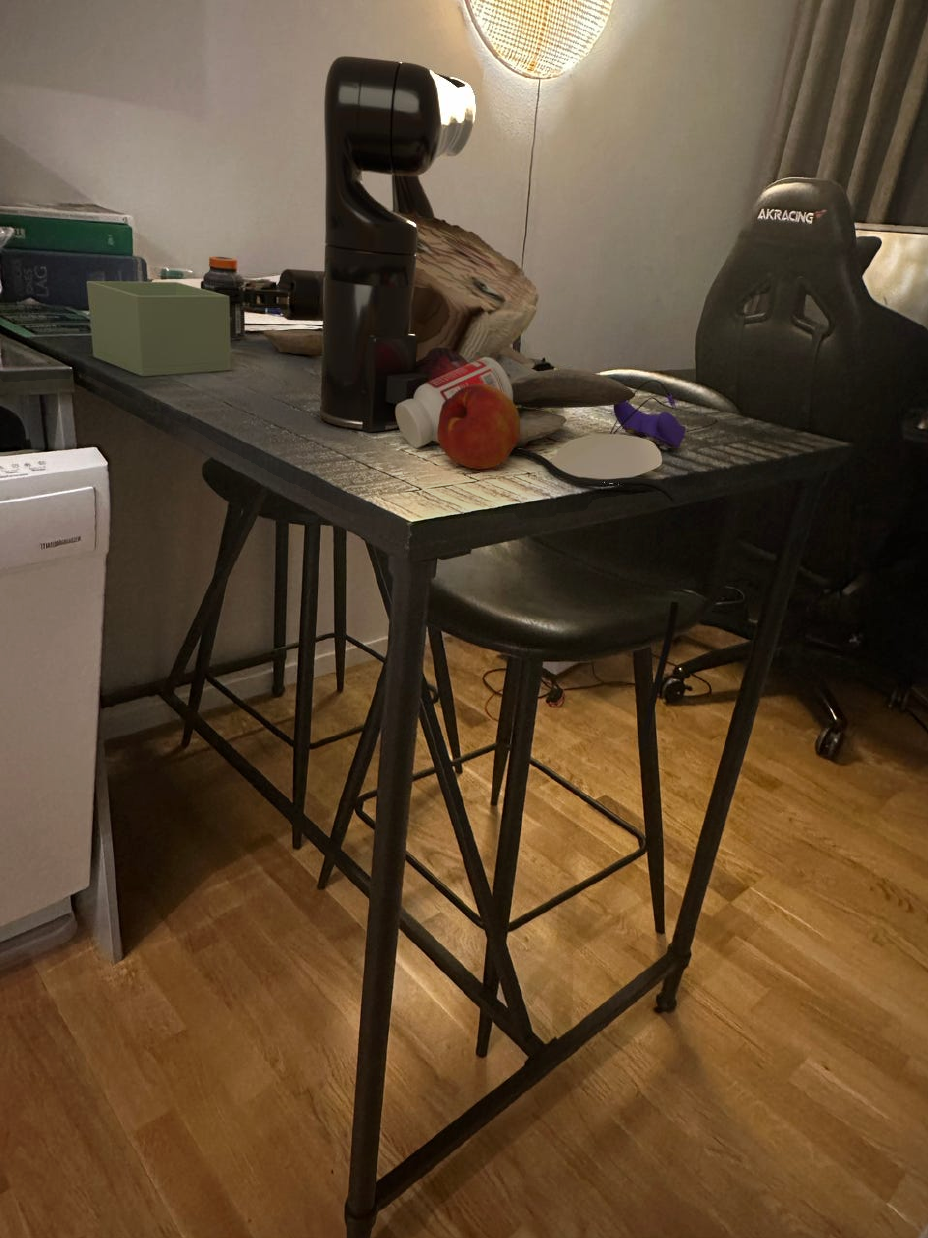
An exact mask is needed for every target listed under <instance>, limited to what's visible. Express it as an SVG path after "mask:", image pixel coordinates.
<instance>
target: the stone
mask: <svg viewBox="0 0 928 1238" xmlns="http://www.w3.org/2000/svg"><path fill="white" fill-rule="evenodd" d="M519 408H520V407H519ZM517 410H518V413H519V418H520V436H519V440H518V442H517V444H516V445H515V447H518V448H522V447H524V446H526V445H527V444H528V443H529V442H530V441H533V440H534V441H535V440H540V439H542V438H546V437H547V436H549V435H551V434H553V433H555V432H557V431H559V430H560V429H561V428H562V427H563V426H564V424H565V423H566V422H567V418H566V417H565V416H563V415H560V414H557V413H554V412H551V411H549V410H531V409H530V408H529V409H528V408H522V407H521V408H520V409H517Z"/></svg>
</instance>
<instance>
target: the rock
mask: <svg viewBox="0 0 928 1238" xmlns="http://www.w3.org/2000/svg"><path fill="white" fill-rule="evenodd" d="M322 333H323V331H321V330H317V331H316V330H310V329H309V330H308V329H292V330H278V329H273V328H271V329H266V330H263V331H262V334H263V336H264V337H265V338H266V339H267V340H268V341H269V342H271V344H273V345H274V347H276V348H277V351H278V352H279V353H286V354H287V353H289V354H293V355H307V356H312V357H322Z"/></svg>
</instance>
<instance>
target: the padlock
mask: <svg viewBox="0 0 928 1238" xmlns="http://www.w3.org/2000/svg"><path fill="white" fill-rule="evenodd" d="M495 361H496V362H497V363H498V364H499V365H500V366H501V367H502V368H503V370H504V371H505V373H506V374H507V376H508V378H509V379H510V378H513V377H517V376H521V375H525V374H529V373H534V372H538V371H535V370H533V369H531V368H529V367H527V366H525V365H523V364H521V363H519V362H517V361H515V360H513V359H510V358H508V357H506V356H504V355H502V354H499V355H498V357H497V359H496V360H495ZM537 409H538V410H540V411H543V409H544V408H537Z"/></svg>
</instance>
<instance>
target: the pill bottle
mask: <svg viewBox="0 0 928 1238" xmlns="http://www.w3.org/2000/svg"><path fill="white" fill-rule="evenodd" d="M208 267H209V269H208V271H206V272H205V273H204V274H203V276H202V277H203V279H202V281H203V289H204V290H208V291H212V292H213V289H214V287H238V288H240V291H241V287H243V286H244V279H245V278H243V276H242V275H241V274H239V273H238V272H237V271H238V260H237V259H236V258H233V257H225V256H209V258H208ZM245 318H246V317H245V306H243V305H241V302H240V304H230V341H237V340H238V341H239V340H242V339H244V338H245V336H246V334H245V333H246V327H245V324H246V323H245V322H246V321H245Z"/></svg>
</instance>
